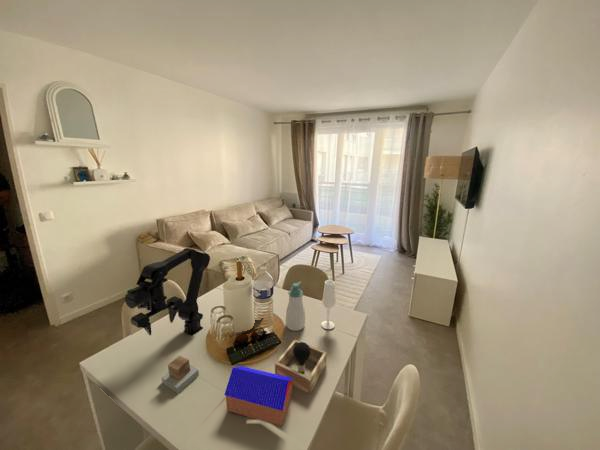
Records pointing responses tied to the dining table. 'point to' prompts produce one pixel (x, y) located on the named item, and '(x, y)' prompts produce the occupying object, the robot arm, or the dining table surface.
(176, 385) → the grey plinth
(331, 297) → the champagne flute
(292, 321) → the soap bottle
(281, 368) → the oak bulb corral
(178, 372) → the walnut cube
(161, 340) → the dining table surface
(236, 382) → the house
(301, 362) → the light bulb
